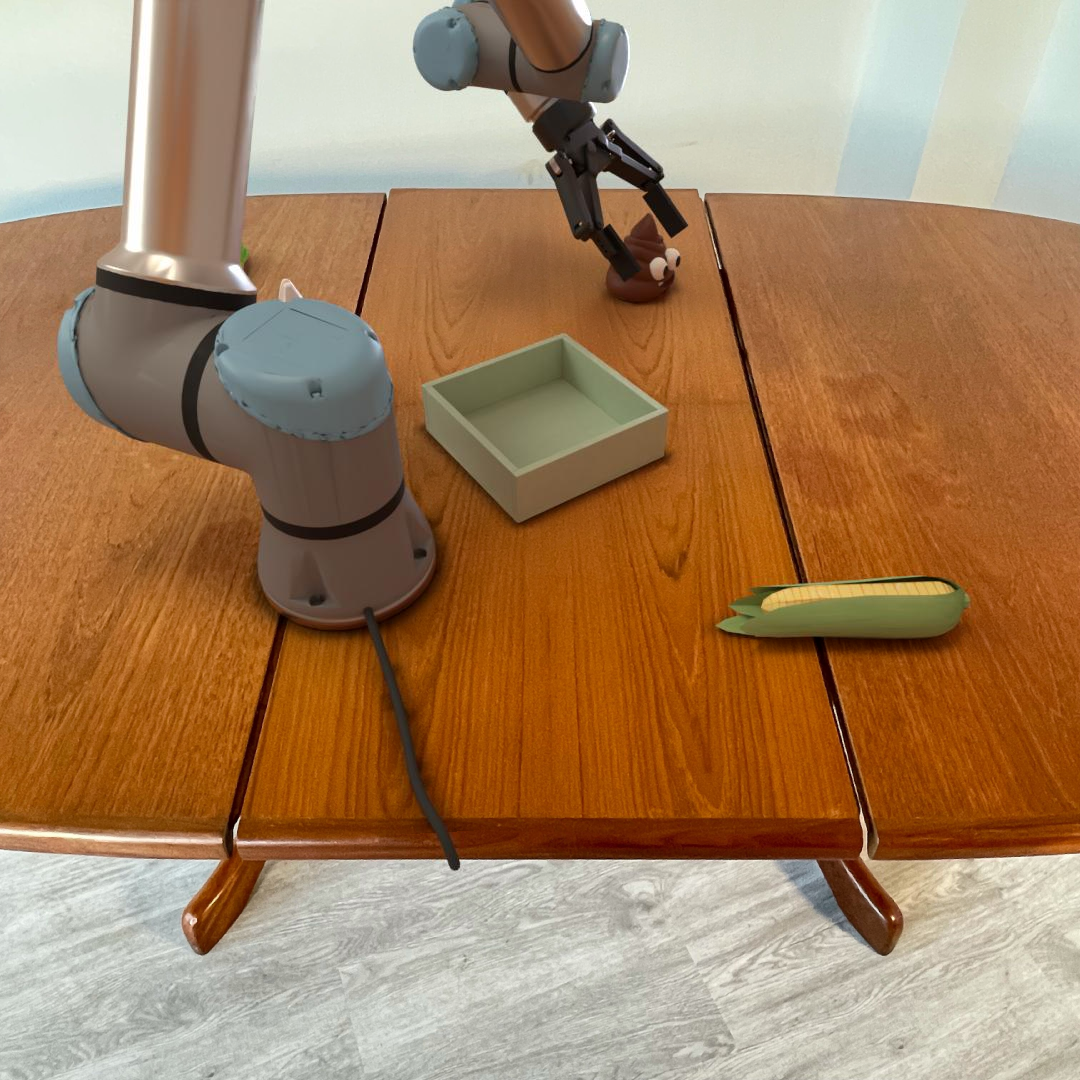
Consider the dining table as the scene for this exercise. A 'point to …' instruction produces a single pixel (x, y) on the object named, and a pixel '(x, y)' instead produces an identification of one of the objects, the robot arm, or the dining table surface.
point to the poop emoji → (645, 264)
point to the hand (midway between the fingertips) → (657, 253)
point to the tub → (544, 424)
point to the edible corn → (851, 609)
